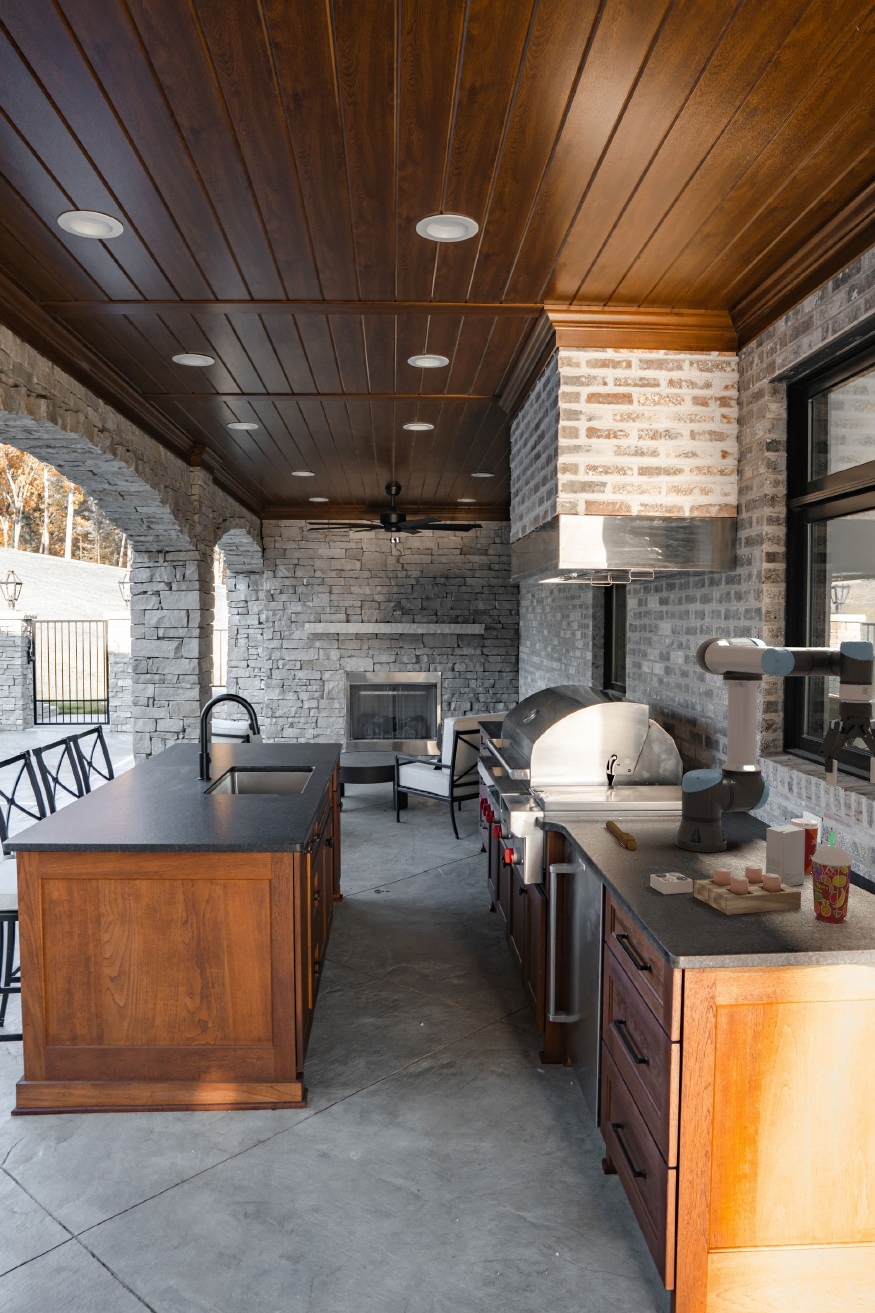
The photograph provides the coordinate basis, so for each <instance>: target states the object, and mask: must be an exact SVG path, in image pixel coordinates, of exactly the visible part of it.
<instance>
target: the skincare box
mask: <svg viewBox="0 0 875 1313" xmlns="http://www.w3.org/2000/svg"><path fill="white" fill-rule="evenodd" d="M765 840H766V843H765V844H766V846H765V851H766V852H765V874H767V873H771V874H777V875H779V876H780V877H781V883H783V884H785V885H787V886H789V887H794V886H797V885H802V884H805V874H804V853H805V829H802V828H799V827H795V826H792V825H789V824H783V825H777V826H772V827H766V839H765Z"/></svg>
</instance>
